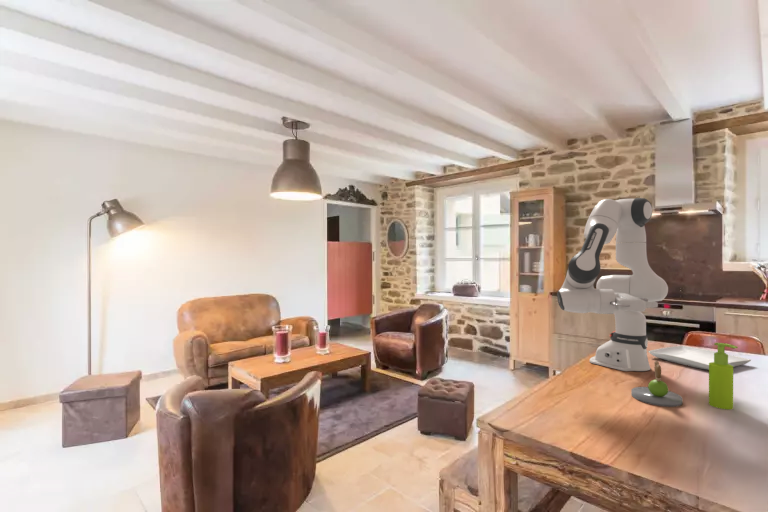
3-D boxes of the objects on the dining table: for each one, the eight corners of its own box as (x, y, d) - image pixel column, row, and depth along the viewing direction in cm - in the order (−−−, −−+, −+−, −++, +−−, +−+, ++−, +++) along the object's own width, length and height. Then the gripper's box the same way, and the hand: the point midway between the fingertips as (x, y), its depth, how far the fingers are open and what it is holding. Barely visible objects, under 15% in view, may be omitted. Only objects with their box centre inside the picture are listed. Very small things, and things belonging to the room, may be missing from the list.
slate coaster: (625, 398, 131) (625, 393, 131) (638, 388, 141) (638, 384, 141) (677, 410, 121) (677, 405, 121) (686, 398, 130) (686, 394, 130)
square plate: (715, 375, 156) (715, 365, 156) (646, 358, 181) (646, 350, 181) (752, 367, 167) (752, 358, 167) (681, 352, 192) (682, 344, 192)
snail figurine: (665, 393, 131) (665, 358, 131) (669, 400, 125) (670, 363, 125) (646, 391, 133) (646, 356, 133) (649, 397, 128) (649, 360, 127)
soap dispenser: (732, 412, 120) (732, 346, 119) (705, 404, 126) (705, 342, 125) (740, 408, 122) (741, 344, 122) (714, 401, 128) (714, 340, 128)
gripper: (614, 296, 130) (663, 297, 126) (600, 289, 150) (642, 290, 145) (614, 315, 130) (663, 316, 126) (600, 306, 150) (642, 307, 146)
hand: (652, 302), depth 136 cm, fingers open, 8 cm apart
